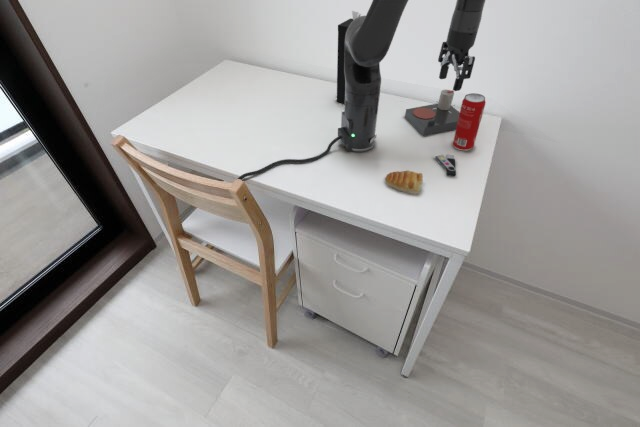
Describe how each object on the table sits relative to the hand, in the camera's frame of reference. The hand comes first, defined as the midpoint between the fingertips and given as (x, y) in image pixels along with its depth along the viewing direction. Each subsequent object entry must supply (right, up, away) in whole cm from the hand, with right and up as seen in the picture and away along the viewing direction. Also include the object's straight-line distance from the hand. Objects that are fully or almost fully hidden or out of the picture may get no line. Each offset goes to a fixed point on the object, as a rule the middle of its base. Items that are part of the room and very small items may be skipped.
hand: (449, 84), depth 104 cm
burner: (-7, -8, +3) cm, 11 cm away
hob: (-3, -11, +4) cm, 12 cm away
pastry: (-18, -33, -17) cm, 41 cm away
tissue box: (-29, 0, +16) cm, 33 cm away
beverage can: (+2, -20, -5) cm, 21 cm away
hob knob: (0, -5, +5) cm, 7 cm away
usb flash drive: (-6, -27, -12) cm, 30 cm away
